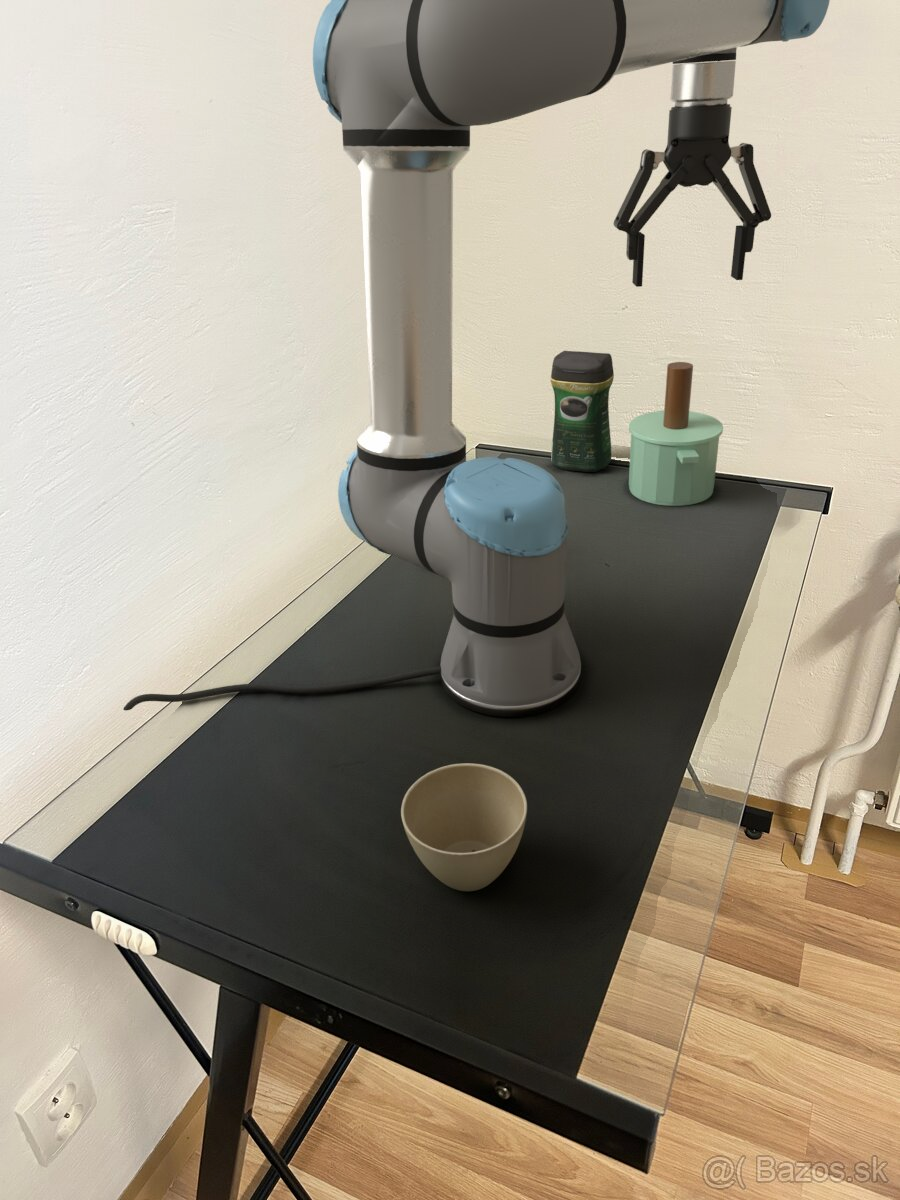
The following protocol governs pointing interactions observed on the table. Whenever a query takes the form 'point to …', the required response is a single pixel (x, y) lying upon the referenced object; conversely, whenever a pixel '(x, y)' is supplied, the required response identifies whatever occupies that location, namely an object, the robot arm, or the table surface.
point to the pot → (672, 472)
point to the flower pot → (465, 823)
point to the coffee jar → (581, 410)
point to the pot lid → (676, 415)
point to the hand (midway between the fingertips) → (686, 281)
